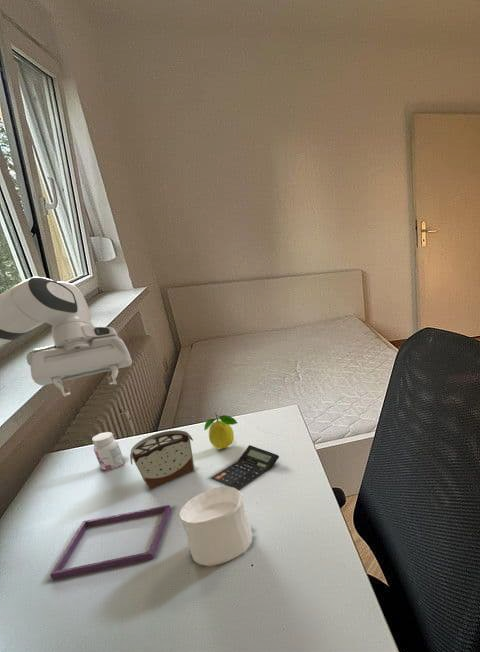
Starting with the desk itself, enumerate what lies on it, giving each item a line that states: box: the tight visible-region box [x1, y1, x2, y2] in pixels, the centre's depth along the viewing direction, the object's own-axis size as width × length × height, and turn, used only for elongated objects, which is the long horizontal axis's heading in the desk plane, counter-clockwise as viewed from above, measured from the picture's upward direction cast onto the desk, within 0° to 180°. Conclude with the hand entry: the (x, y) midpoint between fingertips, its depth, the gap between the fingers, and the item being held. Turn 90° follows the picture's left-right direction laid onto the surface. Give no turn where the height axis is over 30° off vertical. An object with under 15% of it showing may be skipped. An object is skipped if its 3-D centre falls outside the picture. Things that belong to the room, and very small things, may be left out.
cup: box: [178, 486, 253, 567], centre depth 75 cm, size 10×10×10 cm
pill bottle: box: [91, 431, 126, 471], centre depth 102 cm, size 5×5×8 cm
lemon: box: [204, 412, 238, 449], centre depth 107 cm, size 7×6×10 cm
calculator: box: [210, 444, 280, 491], centre depth 98 cm, size 9×12×3 cm
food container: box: [129, 429, 196, 491], centre depth 96 cm, size 12×6×10 cm, turn 134°
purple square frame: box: [49, 504, 172, 581], centre depth 79 cm, size 15×13×2 cm
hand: (90, 389), depth 107 cm, fingers open, 8 cm apart
